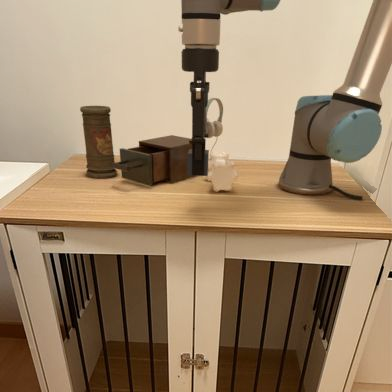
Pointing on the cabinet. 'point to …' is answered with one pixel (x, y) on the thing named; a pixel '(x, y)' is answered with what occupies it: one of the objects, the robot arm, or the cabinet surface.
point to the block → (206, 159)
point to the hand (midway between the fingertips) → (198, 171)
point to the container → (98, 141)
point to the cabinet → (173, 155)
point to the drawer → (143, 164)
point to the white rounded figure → (221, 171)
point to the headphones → (216, 126)
